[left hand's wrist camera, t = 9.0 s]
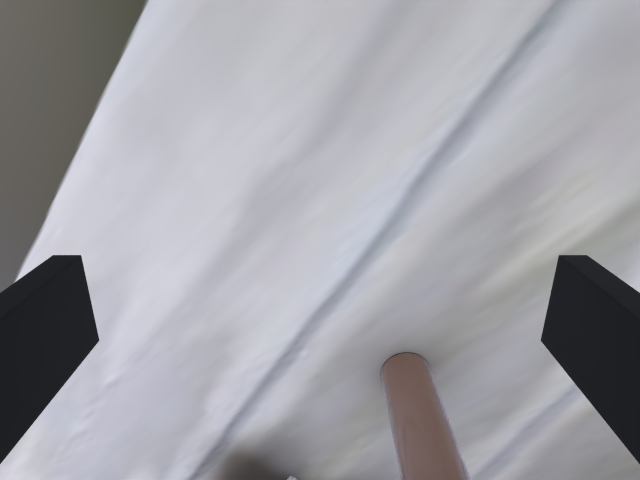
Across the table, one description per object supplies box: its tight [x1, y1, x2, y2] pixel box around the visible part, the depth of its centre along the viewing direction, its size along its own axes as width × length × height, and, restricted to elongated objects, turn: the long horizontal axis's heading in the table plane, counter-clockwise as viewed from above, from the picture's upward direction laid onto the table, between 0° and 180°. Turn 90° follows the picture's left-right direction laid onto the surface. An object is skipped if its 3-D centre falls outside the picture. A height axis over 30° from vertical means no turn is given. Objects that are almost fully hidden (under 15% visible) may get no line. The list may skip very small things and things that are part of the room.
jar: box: [381, 353, 471, 480], centre depth 35 cm, size 5×5×16 cm
